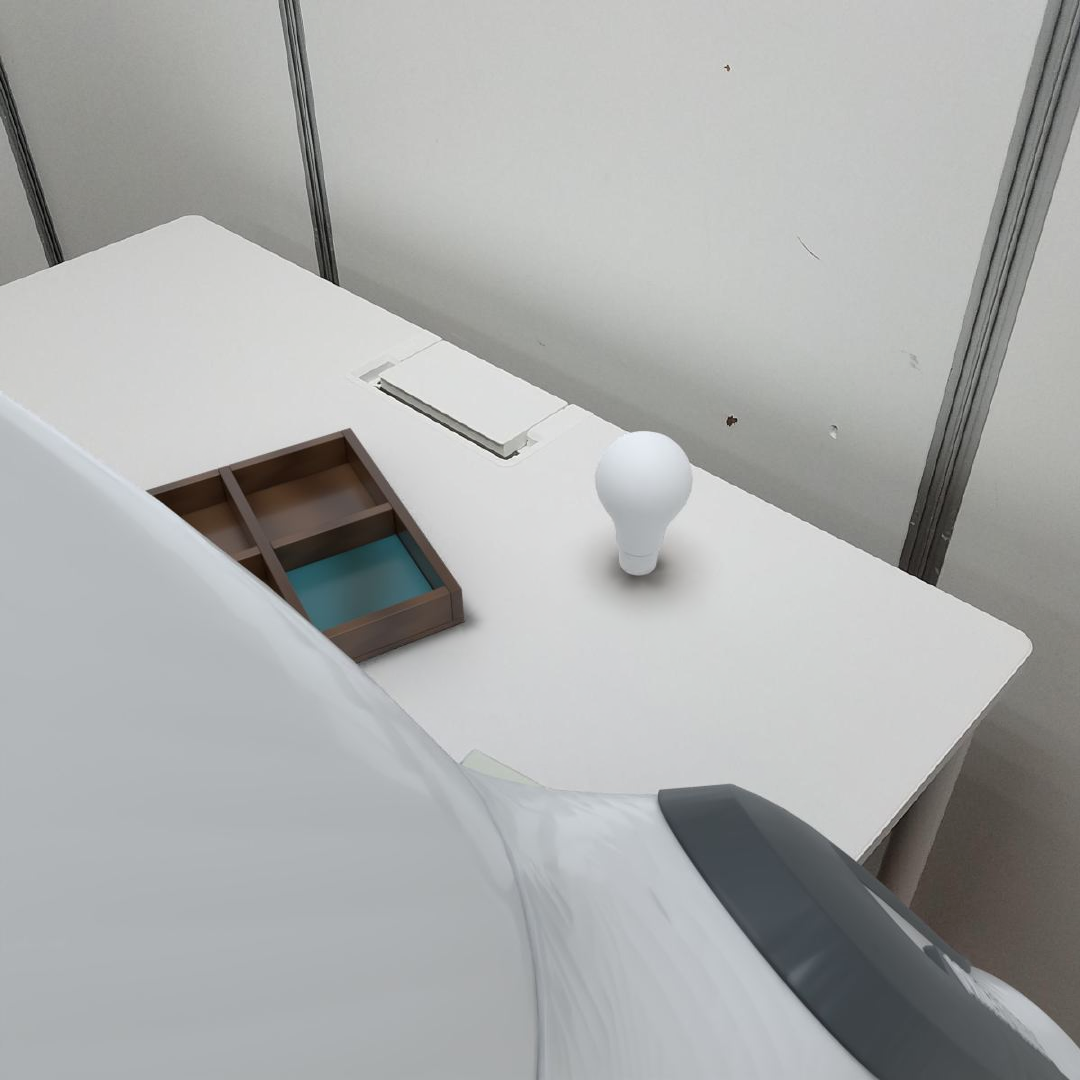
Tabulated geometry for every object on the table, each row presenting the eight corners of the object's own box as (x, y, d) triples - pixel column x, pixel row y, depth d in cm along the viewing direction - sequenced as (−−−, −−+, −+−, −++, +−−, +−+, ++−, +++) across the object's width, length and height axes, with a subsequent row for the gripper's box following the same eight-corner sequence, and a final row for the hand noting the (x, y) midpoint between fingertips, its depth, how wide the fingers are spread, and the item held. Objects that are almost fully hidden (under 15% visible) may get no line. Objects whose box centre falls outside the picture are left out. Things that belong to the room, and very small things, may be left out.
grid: (165, 736, 65) (153, 703, 63) (95, 541, 78) (83, 508, 76) (464, 621, 72) (462, 588, 70) (355, 459, 85) (350, 427, 83)
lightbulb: (573, 568, 76) (575, 438, 68) (636, 528, 79) (645, 399, 71) (637, 616, 72) (647, 485, 65) (701, 573, 75) (717, 442, 68)
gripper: (868, 953, 44) (676, 713, 54) (393, 1228, 37) (264, 898, 46) (840, 1024, 49) (667, 791, 58) (409, 1284, 42) (288, 971, 51)
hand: (484, 840), depth 52 cm, fingers closed on box, 6 cm apart
